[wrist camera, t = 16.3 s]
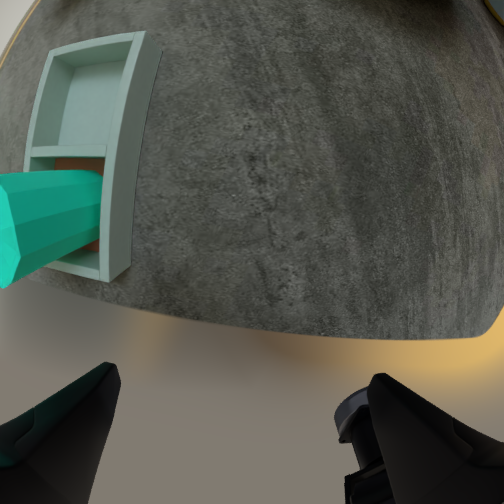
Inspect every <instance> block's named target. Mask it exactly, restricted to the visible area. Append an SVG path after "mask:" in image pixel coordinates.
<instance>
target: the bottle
mask: <svg viewBox="0 0 504 504" xmlns="http://www.w3.org/2000/svg"><path fill="white" fill-rule="evenodd" d="M484 2H485V4H486V6H487V7H488V9H489V10H490V12H491V13H492V15H493V16H494V17H495V18H496V19H497V20H498V21H499V22H500V23H501V25H503V26H504V0H484Z"/></svg>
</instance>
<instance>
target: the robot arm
mask: <svg viewBox="0 0 504 504" xmlns="http://www.w3.org/2000/svg"><path fill="white" fill-rule="evenodd" d="M120 387H121V380H120V377H119V373H118V369H117V366H116V365H115V364H113V363H109V362H104V363H102V364H100V365H99V366H97V367H96V368H94V369H92V370H91V371H90V372H88V373H86V374H85V375H83V376H82V377H80V378H79V379H77V380H75V381H74V382H72V383H71V384H69V385H68V386H66V387H65V388H63V389H61V390H60V391H58V392H57V393H55V394H54V395H52V396H50V397H49V398H47V399H46V400H44V401H43V402H41V403H39V404H38V405H36V406H35V407H34V408H31V409H30V410H28V411H27V412H25V413H23V414H21V415H20V416H18V417H17V418H15V419H12V420H10V421H9V422H7V423H4V424H2V425H0V504H88V501H89V497H90V493H91V489H92V486H93V482H94V479H95V475H96V472H97V468H98V465H99V461H100V458H101V455H102V452H103V449H104V446H105V443H106V440H107V436H108V433H109V431H110V428H111V425H112V421H113V417H114V413H115V408H116V404H117V399H118V395H119V391H120ZM367 399H368V404H364V405H361V406H359V407H358V408H357V410H356V412H355V414H354V415H353V417H352V419H351V420H350V422H349V424H348V425H347V427H346V428H345V430H344V432H343V433H342V435H341V436H340V438H339V443H352V445H353V448H354V451H355V454H356V457H357V460H358V463H359V467H360V470H359V471H357V472H355V473H353V474H351V475H350V474H349V475H347V476H345V483H344V486H345V504H504V442H500V441H497V440H495V439H493V438H491V437H489V436H487V435H484V434H482V433H480V432H478V431H476V430H474V429H472V428H471V427H469V426H467V425H465V424H464V423H462V422H460V421H458V420H457V419H455V418H454V417H452V416H451V415H449V414H447V413H446V412H444V411H443V410H441V409H439V408H438V407H436V406H435V405H433V404H432V403H430V402H429V401H427V400H425V399H424V398H422V397H421V396H419V395H418V394H416V393H415V392H413V391H412V390H410V389H409V388H407V387H406V386H404V385H403V384H401V383H400V382H398V381H397V380H395V379H393V378H392V377H390V376H389V375H388V374H386V373H378V374H375V375H374V376H373V378H372V380H371V382H370V384H369V386H368V388H367Z"/></svg>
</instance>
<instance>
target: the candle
mask: <svg viewBox="0 0 504 504" xmlns="http://www.w3.org/2000/svg"><path fill="white" fill-rule="evenodd" d="M102 185H103V177H102V176H101V175H100V174H99V173H98V172H97V171H95V170H50V171H32V172H18V173H7V174H0V288H5V287H7V286H9V285H10V284H12V283H14V282H16V281H18V280H19V279H21V278H23V277H25V276H26V275H28V274H30V273H32V272H34V271H36V270H37V269H39V268H41V267H43V266H45V265H47V264H49V263H51V262H53V261H55V260H57V259H59V258H60V257H62V256H64V255H66V254H68V253H70V252H72V251H75V250H77V249H79V248H81V247H83V246H85V245H87V244H89V243H91V242H93V241H95V240H97V239H99V238H100V212H101V196H102Z"/></svg>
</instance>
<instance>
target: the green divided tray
mask: <svg viewBox="0 0 504 504" xmlns="http://www.w3.org/2000/svg"><path fill="white" fill-rule="evenodd" d="M161 55H162V51H161V50H160V48H159V47H158V46H157V44H156V43H155V42H154V41H153V39H152V38H151V37H150V35H149V34H148V33H147V32H146V31H140V32H130V33H123V34H117V35H111V36H105V37H100V38H95V39H90V40H86V41H82V42H78V43H74V44H70V45H67V46H63V47H60V48H57V49H53V50H50V52H49V55H48V58H47V60H46V63H45V66H44V69H43V73H42V76H41V79H40V83H39V86H38V90H37V94H36V98H35V102H34V106H33V111H32V115H31V120H30V126H29V131H28V137H27V144H26V151H25V160H24V170H23V172H32V171H50V170H95V171H97V172H98V173H99V174H100V175H101V176H102V177H103V185H102V196H101V212H100V238H99V239H97V240H95V241H93V242H91V243H89V244H87V245H85V246H83V247H81V248H79V249H77V250H75V251H72V252H70V253H68V254H66V255H64V256H62V257H60V258H59V259H57V260H55V261H53V262H51V263H49V264H47V265H45V267H48V268H52V269H56V270H59V271H63V272H67V273H71V274H75V275H79V276H83V277H87V278H91V279H95V280H100V281H104V282H108V283H109V282H111V281H112V280H113V279H114V278H116V277H117V276H118V275H119V274H121V273H122V272H123V271H124V270H126V269H127V268H128V267H130V266H131V245H132V226H133V212H134V200H135V190H136V181H137V173H138V165H139V158H140V151H141V145H142V139H143V133H144V127H145V122H146V117H147V112H148V107H149V102H150V98H151V93H152V89H153V85H154V81H155V77H156V73H157V69H158V66H159V62H160V58H161Z"/></svg>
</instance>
